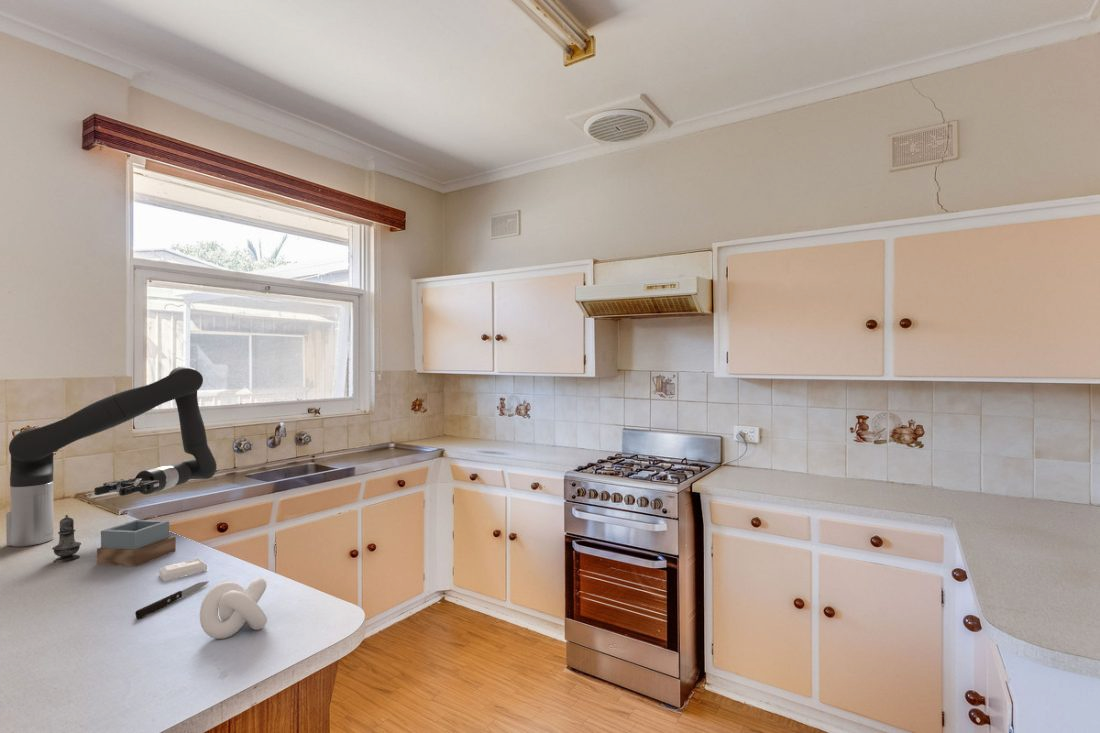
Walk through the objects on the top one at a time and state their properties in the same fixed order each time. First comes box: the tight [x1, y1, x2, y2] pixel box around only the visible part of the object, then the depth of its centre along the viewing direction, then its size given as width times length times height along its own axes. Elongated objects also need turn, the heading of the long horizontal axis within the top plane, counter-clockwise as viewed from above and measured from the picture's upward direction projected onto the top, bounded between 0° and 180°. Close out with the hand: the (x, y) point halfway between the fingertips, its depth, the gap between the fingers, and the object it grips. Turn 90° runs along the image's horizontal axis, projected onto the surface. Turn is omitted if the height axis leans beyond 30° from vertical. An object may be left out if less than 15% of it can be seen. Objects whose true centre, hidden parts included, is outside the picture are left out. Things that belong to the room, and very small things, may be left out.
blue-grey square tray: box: [100, 519, 170, 550], centre depth 147 cm, size 10×10×4 cm
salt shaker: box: [51, 514, 82, 563], centre depth 145 cm, size 6×6×12 cm
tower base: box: [96, 535, 177, 568], centre depth 147 cm, size 12×12×4 cm
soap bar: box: [158, 558, 208, 582], centre depth 135 cm, size 5×9×3 cm, turn 137°
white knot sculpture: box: [199, 577, 268, 640], centre depth 107 cm, size 11×12×9 cm
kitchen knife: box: [134, 580, 210, 620], centre depth 119 cm, size 18×1×2 cm, turn 169°
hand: (107, 492), depth 156 cm, fingers open, 8 cm apart
